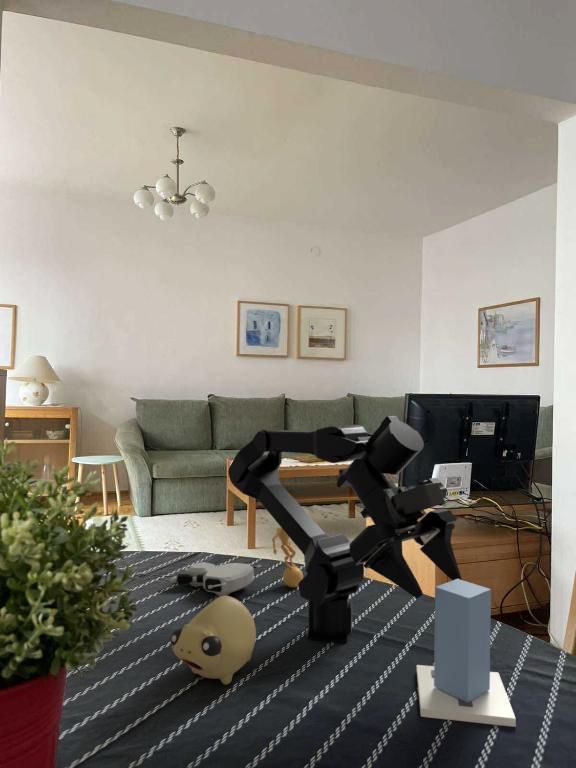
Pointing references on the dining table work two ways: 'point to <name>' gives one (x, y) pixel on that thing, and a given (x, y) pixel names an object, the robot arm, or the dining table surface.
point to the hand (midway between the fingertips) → (440, 588)
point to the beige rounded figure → (217, 639)
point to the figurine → (292, 572)
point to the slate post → (462, 639)
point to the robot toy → (217, 577)
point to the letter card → (479, 710)
